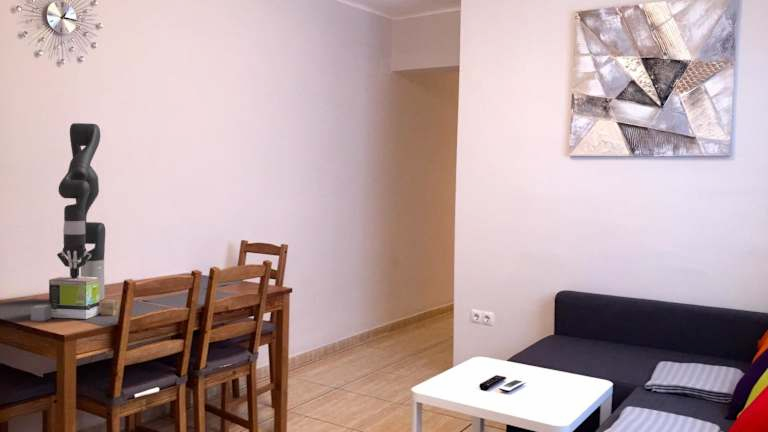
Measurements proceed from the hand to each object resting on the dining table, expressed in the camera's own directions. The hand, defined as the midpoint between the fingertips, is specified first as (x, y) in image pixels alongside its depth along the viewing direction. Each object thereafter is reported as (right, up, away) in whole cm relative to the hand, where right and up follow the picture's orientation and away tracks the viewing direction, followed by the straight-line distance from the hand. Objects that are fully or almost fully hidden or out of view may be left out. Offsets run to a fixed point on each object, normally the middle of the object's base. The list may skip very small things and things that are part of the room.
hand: (74, 277), depth 249 cm
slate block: (-10, -15, -6) cm, 19 cm away
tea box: (-1, -15, +1) cm, 15 cm away
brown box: (+11, -15, +7) cm, 19 cm away
